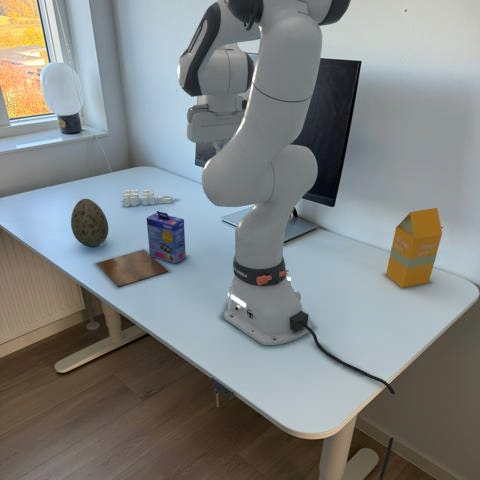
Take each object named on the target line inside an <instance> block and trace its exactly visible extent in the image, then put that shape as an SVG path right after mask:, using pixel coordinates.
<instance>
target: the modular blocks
mask: <svg viewBox="0 0 480 480" xmlns="http://www.w3.org/2000/svg"><path fill="white" fill-rule="evenodd" d="M122 193H123V195H122V200H123V205H124V207H125V208H127V207H130V206H131V207H136V206H140V195H139V189H137V188H136V189H132V190H131V189H125V190H123V192H122ZM141 196H142V205H143V206H148V205H151V206H152V205H156V201H155V192H154V189H144V190H142V193H141ZM170 196H171V195H169V194H168V195H157V198H158V200H157V201H158V204H159V205H161V204H172V202H173V200H172V197H170Z"/></svg>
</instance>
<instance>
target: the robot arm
mask: <svg viewBox="0 0 480 480" xmlns="http://www.w3.org/2000/svg"><path fill="white" fill-rule="evenodd" d="M351 1H352V0H216V2H214V3H212V4H211V5H209V6H208V8H207V9H206V10H205V12H204V14H203V16H202V17H201V19H200V22H199V24H198V26H197V27H196V30H195V32H194V34H193V36H192V38H191V40H190V42H189V44H188V47H187V48H186V49H185V50H184V52H183V53H182V54H181V55H180V57H179V59H178V64H177V80H178V85H179V87H180V89H182V90H183V91H184V92H185V93H186V94H187V95H188V96H190V97H191V98H194V97H201V96H205V99H204V101H205V103H201V104H192V105H191V106H189V108H188V109H187V110H186V119H187V124H186V125H187V126H186V127H187V128H186V137H187V139H188V141H190V142H191V143H193V144H197V143H207V142H211V144H212V146H213V147H214V149H215V155H212V156H211V158H209V159H207V161H206V162H205V164H204V167H203V169H202V173H201V186H202V190H203V193H204V194H205V196H206V198H207V199H208V201H209V202H210V203H212V204H213V205H214V206H215V207H219V208H220V207H222V208H241V207H245V206H246V207H247V206H251V205H253V206H252V208H251V209H250V210H249V211H248V212H247V213H246V214H245V215H244V216H243V217H241V218H240V220H239V221H238V222H237V224H236V227H235V229H234V230H235V231H234V250H235V252H234V256H233V261H232V268H233V278H232V281H231V282H230V285H229V289H228V293H227V296H228V301H227V309H226V310H225V311H224V313H223V319H224V320H225V321H226V322H228V323H230V324H232V325H233V326H234V327H235V328H237V329H239V330H240V331H242V332H243V333H244V334H246V335H247V336H248V337H250V338H252V339H253V340H254V341H256V342H258V343H259V344H260V345H262V346H277V345H284V344H286V343H290V342H293V341H296V340H298V339H300V338H302V337H304V336H306V334H308V333H310V334H311V336H312V337H313V340H314V343H315V345H316V346H317V348H318V349H319V350H320V351H321V352H322V353H323V354H325V356H328V357H329V358H330V359H332V360H334V361H335V362H337V363H338V364H340V365H342V366H344V367H346V368H348V369H350V370H352V371H354V372H357V373H359V374H361V375H363V376H365V377H367V378H369V379H371V380H374V381H376V382H378V383H381V384H382V385H384V386H385V387H386V388H387V389H388V391H389V392H390V394H392V395H396V392H395V391H394V389H393V387H392V386H391V384H390V383H388V382H387V381H386V380H384V379H383V378H381V377H378V376H376V375H373V374H370V373H368V372H366V371H364V370H363V369H360V368H358V367H356V366H354V365H351V364H349V363H348V362H345V361H344V360H342V359H340V358H338V357H337V356H335V355H333V354H332V353H330V352H329V351H327V350H326V349H325V348H324V347H323V346H322V344H320V342H319V339H318V337H317V334H316V332H314V330H313V329H312V322H311V321H310V320H309V313H307V312H305V311H303V306H302V303H301V299H302V295H301V293H300V291H295V289H294V287H293V286H292V281H291V279H292V278H291V277H287V276H288V275H289V273H288V272H289V269H287V268H286V262H285V258H284V255H283V254H284V245H285V244H284V243H285V236H286V230H287V225H288V223H289V220H290V218H291V216H292V213H293V212H294V210H295V208H296V206H297V205H298V203H299V202H300V200H301V199H302V198H303V196H305V194H307V193H308V192H309V191H310V190H312V188H313V187H314V185H315V183H316V181H317V178H318V170H319V169H318V168H319V167H318V161H317V159H316V156H315V155H314V153H313V152H312V150H311V149H310V148H309V147H307V146H304V145H298V144H292V143H294V141H295V140H297V139H298V137H299V136H300V134H301V132H302V130H303V128H304V125H305V120H306V118H307V114H308V112H309V111H308V110H309V107H310V104H311V101H312V97H313V94H314V91H315V87H316V84H317V79H318V75H319V68H320V65H321V64H320V63H321V57H322V48H323V33H322V32H323V31H322V29H321V27H323V26H328V25H329V26H330V25H333V24H336V23H338V22H339V21H340V20H342V18H343V16H344V15H345V14H346V12H347V11H348V9H349V6H350V4H351ZM257 40H259V47H258V52H257V55H256V60H255V62H254V60H253V58H252V57H251V56H250V55H249V54H248V53H247V52H246V51H243V50H242V49H241V48H240V46H239V45H238V44H239V43H244V42H252V41H253V42H254V41H257ZM247 91H248V92H249V93H248V97H247V98H245V97H244V96H241V94H243V93H246V92H247ZM239 94H240V95H239ZM221 141H223V142H224V145H223V146H222V147H220V144H221ZM393 441H394V436H392V437H390V438H389V439H388V444H387V450H386V454H385V457H384V460H383V465H382V469H381V471H380V475H379V478H378V480H383V479H384V476H385V473H386V470H387V467H388V463H389V459H390V455H391V452H392V447H393V443H394V442H393Z"/></svg>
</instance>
